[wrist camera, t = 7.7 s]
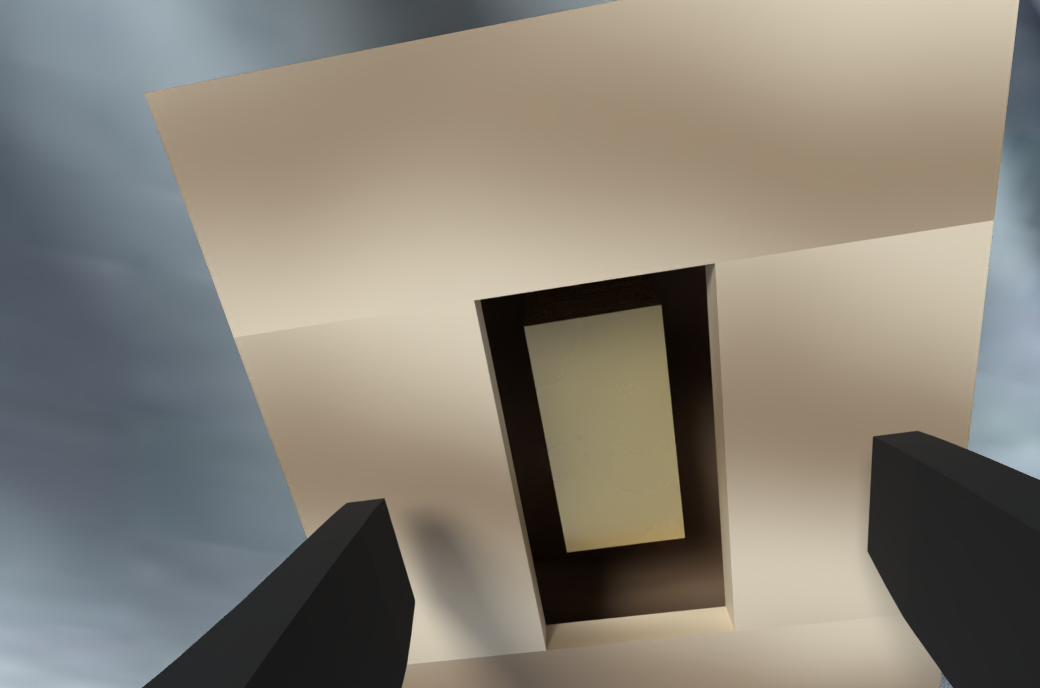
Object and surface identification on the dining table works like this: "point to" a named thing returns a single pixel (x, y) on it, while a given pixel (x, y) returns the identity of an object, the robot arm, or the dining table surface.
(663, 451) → the tan wooden block
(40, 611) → the dining table surface
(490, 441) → the box
